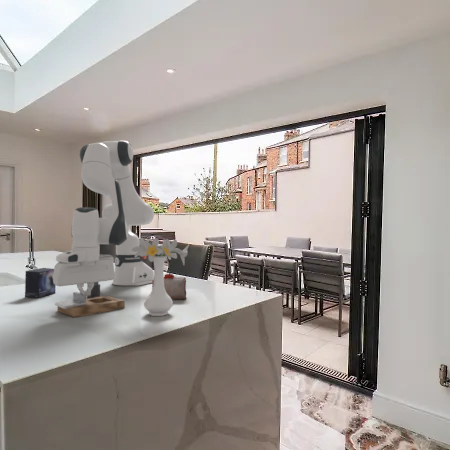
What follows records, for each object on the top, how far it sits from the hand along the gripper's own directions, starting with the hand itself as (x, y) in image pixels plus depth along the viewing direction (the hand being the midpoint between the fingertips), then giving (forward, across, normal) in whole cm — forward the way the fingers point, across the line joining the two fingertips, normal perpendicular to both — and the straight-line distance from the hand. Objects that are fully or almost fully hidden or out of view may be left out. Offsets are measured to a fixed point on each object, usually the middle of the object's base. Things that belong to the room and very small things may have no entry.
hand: (85, 296), depth 122 cm
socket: (+5, -2, 0) cm, 5 cm away
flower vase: (+5, -15, +21) cm, 26 cm away
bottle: (+5, -10, -12) cm, 16 cm away
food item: (+5, -32, +4) cm, 33 cm away
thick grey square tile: (+2, +5, 0) cm, 5 cm away
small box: (+5, 0, -36) cm, 37 cm away
